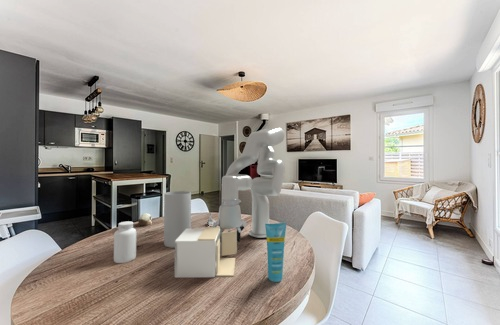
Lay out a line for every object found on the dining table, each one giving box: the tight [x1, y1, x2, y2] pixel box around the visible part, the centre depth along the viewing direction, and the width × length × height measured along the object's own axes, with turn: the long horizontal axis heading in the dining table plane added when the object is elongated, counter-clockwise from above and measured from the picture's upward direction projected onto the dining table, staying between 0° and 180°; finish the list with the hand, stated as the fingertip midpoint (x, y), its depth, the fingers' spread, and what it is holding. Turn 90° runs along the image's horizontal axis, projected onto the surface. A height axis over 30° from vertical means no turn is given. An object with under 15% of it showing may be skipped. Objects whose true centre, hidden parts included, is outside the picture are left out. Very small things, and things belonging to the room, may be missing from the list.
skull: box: [134, 212, 153, 227], centre depth 131 cm, size 12×10×10 cm
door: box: [220, 230, 238, 257], centre depth 91 cm, size 8×7×10 cm
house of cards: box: [206, 212, 216, 226], centre depth 134 cm, size 9×9×8 cm
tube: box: [265, 222, 287, 283], centre depth 72 cm, size 7×5×19 cm, turn 103°
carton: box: [174, 227, 236, 278], centre depth 79 cm, size 20×14×13 cm
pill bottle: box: [113, 220, 137, 264], centre depth 85 cm, size 8×8×15 cm
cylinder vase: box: [163, 190, 192, 249], centre depth 103 cm, size 12×12×25 cm
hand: (229, 241), depth 94 cm, fingers open, 7 cm apart
